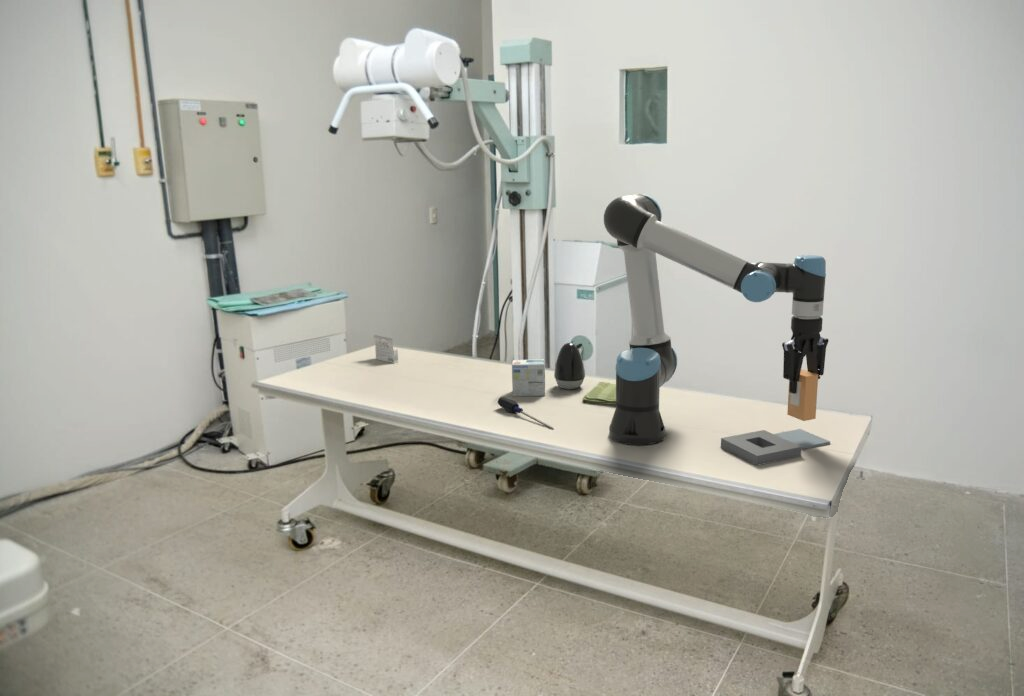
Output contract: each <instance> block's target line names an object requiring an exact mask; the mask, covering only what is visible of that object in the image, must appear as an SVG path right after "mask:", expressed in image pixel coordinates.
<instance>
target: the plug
mask: <svg viewBox="0 0 1024 696" xmlns="http://www.w3.org/2000/svg"><path fill="white" fill-rule="evenodd" d="M798 381H800V382H801V391H800V406H795V405H793V404H790V396H791V393H790V392H789V391H788V395H787V400H788V401H787V414H786V415H787V416H790V417H792V418H795V419H797V420H799V421H802V422H805V421H810V420H816V417H817V400H818V399H817V398H818V385H819V379H818V374H815V373H812V372H808V370H806V369H805V370H804V369H802V368H801V372H800V376H799V380H798ZM789 386H790V381H789V380H788V387H789Z"/></svg>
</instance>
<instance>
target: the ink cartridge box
mask: <svg viewBox="0 0 1024 696" xmlns="http://www.w3.org/2000/svg"><path fill="white" fill-rule="evenodd" d="M373 337H374V344H375V345H374V347H375V359H376V360H379V361H383V362H387V363H392V364H397V363H399V350H398V349H397V348H394V342H393V338H392V337H386V336H381V335H376V334H374V335H373ZM383 340H385V341H383Z"/></svg>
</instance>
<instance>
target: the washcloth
mask: <svg viewBox="0 0 1024 696" xmlns="http://www.w3.org/2000/svg"><path fill="white" fill-rule="evenodd" d="M582 402H584V403H587V404H589V403H590V404H597V405H598V404H599V405H613V406H616V383H611V382H605V381H598V383H597V384H596V385H594V386H593V387H592V389H591V390H589V391H588V392H586V393H585V394H584V396H583V397H582Z"/></svg>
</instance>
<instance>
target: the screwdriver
mask: <svg viewBox="0 0 1024 696" xmlns="http://www.w3.org/2000/svg"><path fill="white" fill-rule="evenodd" d="M497 404H498V405H499V407H501V408H502V409H503V410H505V411H507V412H509V413H510V414H515V413H516V414H522V415H524V416H526V417H528V418H530V419H532V420H534V421H535V422H537V423H539V424H541V425H543V426H545V427H546V428H548V427H549V428H548V429H550V428H552V429H551V430H554V429H555V428H554V427H553V426H551V425H550V424H547V423H546V422H543V421H542V420H540V419H538V418H537V417H535V416H533V415H531V414H529V413H527V412H525V411H524V409H523V408H522V407H520V406H519V405H520V404H518V402H516V401H515V400H513V399H510V398H508V397H505V396H500V397H499V398H498V400H497Z"/></svg>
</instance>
